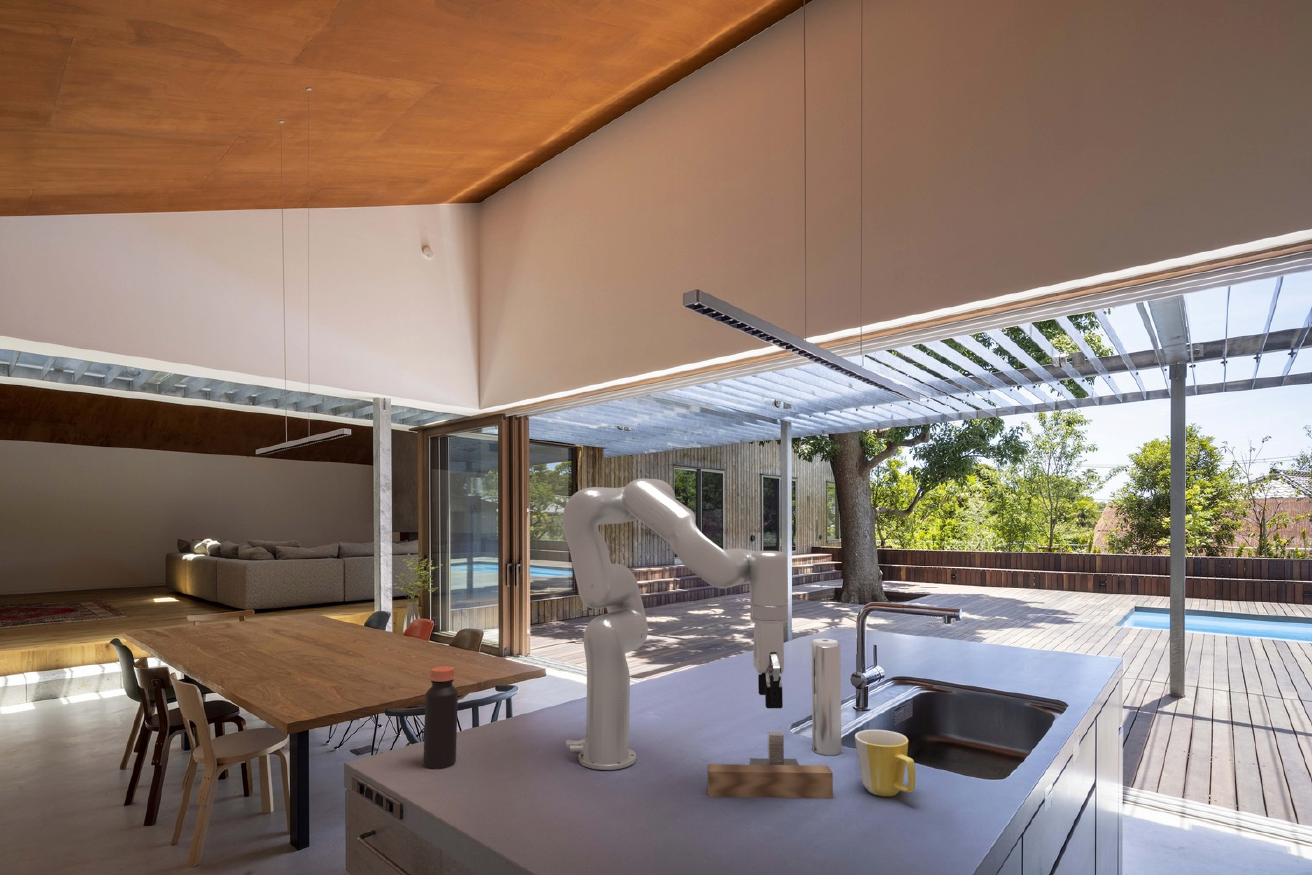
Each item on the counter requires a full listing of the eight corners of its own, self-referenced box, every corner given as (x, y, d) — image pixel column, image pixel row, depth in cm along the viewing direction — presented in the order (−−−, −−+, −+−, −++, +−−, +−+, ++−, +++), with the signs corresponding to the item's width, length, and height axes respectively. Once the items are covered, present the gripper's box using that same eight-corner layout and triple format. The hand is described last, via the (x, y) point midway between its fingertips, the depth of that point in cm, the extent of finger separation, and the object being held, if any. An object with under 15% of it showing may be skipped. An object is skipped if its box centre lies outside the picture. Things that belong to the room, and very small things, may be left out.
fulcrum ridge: (754, 779, 151) (754, 739, 152) (749, 765, 159) (749, 727, 160) (803, 779, 151) (802, 739, 152) (795, 765, 159) (795, 727, 160)
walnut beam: (708, 798, 142) (708, 771, 143) (707, 790, 146) (707, 764, 147) (832, 799, 142) (832, 772, 143) (828, 791, 146) (827, 765, 147)
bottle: (416, 765, 157) (419, 670, 159) (439, 756, 163) (442, 663, 165) (439, 771, 154) (443, 673, 156) (462, 761, 160) (465, 667, 162)
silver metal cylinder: (842, 756, 165) (840, 643, 168) (812, 754, 167) (811, 641, 169) (840, 747, 172) (839, 638, 174) (812, 745, 173) (811, 636, 175)
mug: (846, 783, 150) (846, 730, 151) (892, 779, 152) (891, 727, 153) (879, 811, 137) (879, 752, 138) (929, 807, 139) (928, 749, 140)
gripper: (745, 607, 156) (746, 689, 154) (756, 620, 139) (757, 713, 137) (780, 607, 156) (781, 690, 154) (795, 620, 139) (797, 713, 137)
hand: (770, 701), depth 146 cm, fingers open, 9 cm apart
